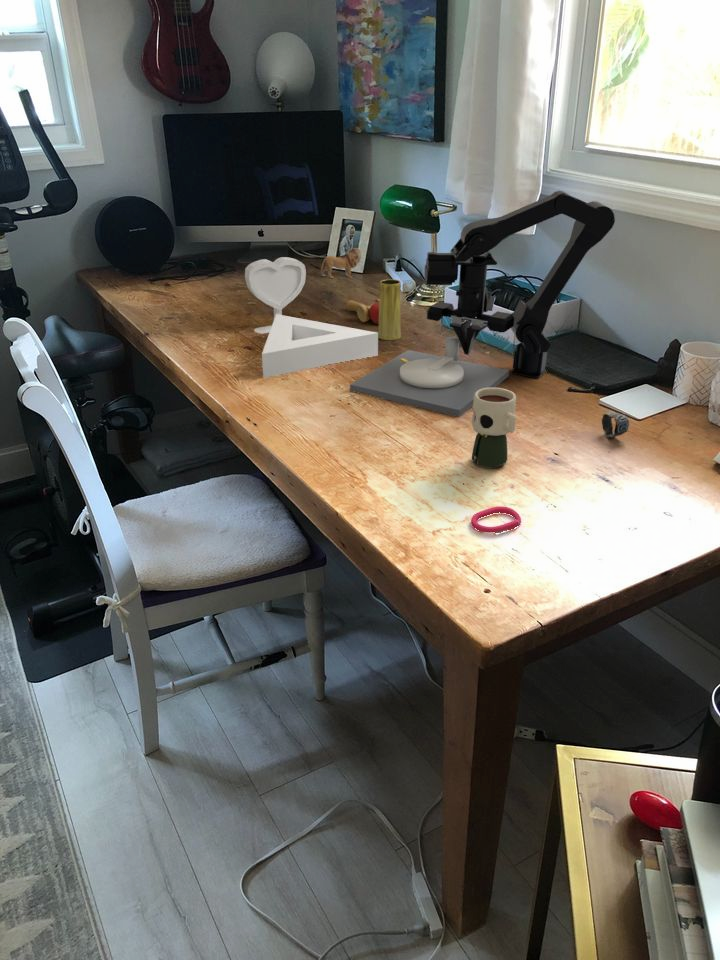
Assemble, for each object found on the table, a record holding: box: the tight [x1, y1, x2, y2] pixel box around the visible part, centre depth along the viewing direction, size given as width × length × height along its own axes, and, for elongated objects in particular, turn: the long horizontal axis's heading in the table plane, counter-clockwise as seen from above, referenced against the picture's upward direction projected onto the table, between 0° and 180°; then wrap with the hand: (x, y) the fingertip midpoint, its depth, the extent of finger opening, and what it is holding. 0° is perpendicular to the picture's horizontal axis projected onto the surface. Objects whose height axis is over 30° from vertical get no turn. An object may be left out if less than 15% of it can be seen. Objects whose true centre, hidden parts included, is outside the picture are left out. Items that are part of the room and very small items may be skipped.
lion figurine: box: [317, 247, 362, 279], centre depth 248 cm, size 15×5×9 cm, turn 104°
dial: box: [400, 335, 464, 388], centre depth 168 cm, size 18×14×6 cm
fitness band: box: [470, 505, 522, 534], centre depth 118 cm, size 8×6×2 cm
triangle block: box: [261, 314, 379, 379], centre depth 180 cm, size 30×26×6 cm
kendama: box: [346, 298, 380, 325], centre depth 210 cm, size 8×6×18 cm
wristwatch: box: [601, 411, 630, 438], centre depth 143 cm, size 3×5×5 cm, turn 16°
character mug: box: [470, 387, 517, 469], centre depth 132 cm, size 11×7×13 cm, turn 30°
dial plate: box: [349, 349, 510, 418], centre depth 168 cm, size 26×26×2 cm
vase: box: [377, 278, 402, 341], centre depth 193 cm, size 6×6×14 cm
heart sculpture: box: [244, 256, 307, 335], centre depth 199 cm, size 16×5×18 cm, turn 116°
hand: (467, 353), depth 172 cm, fingers closed
